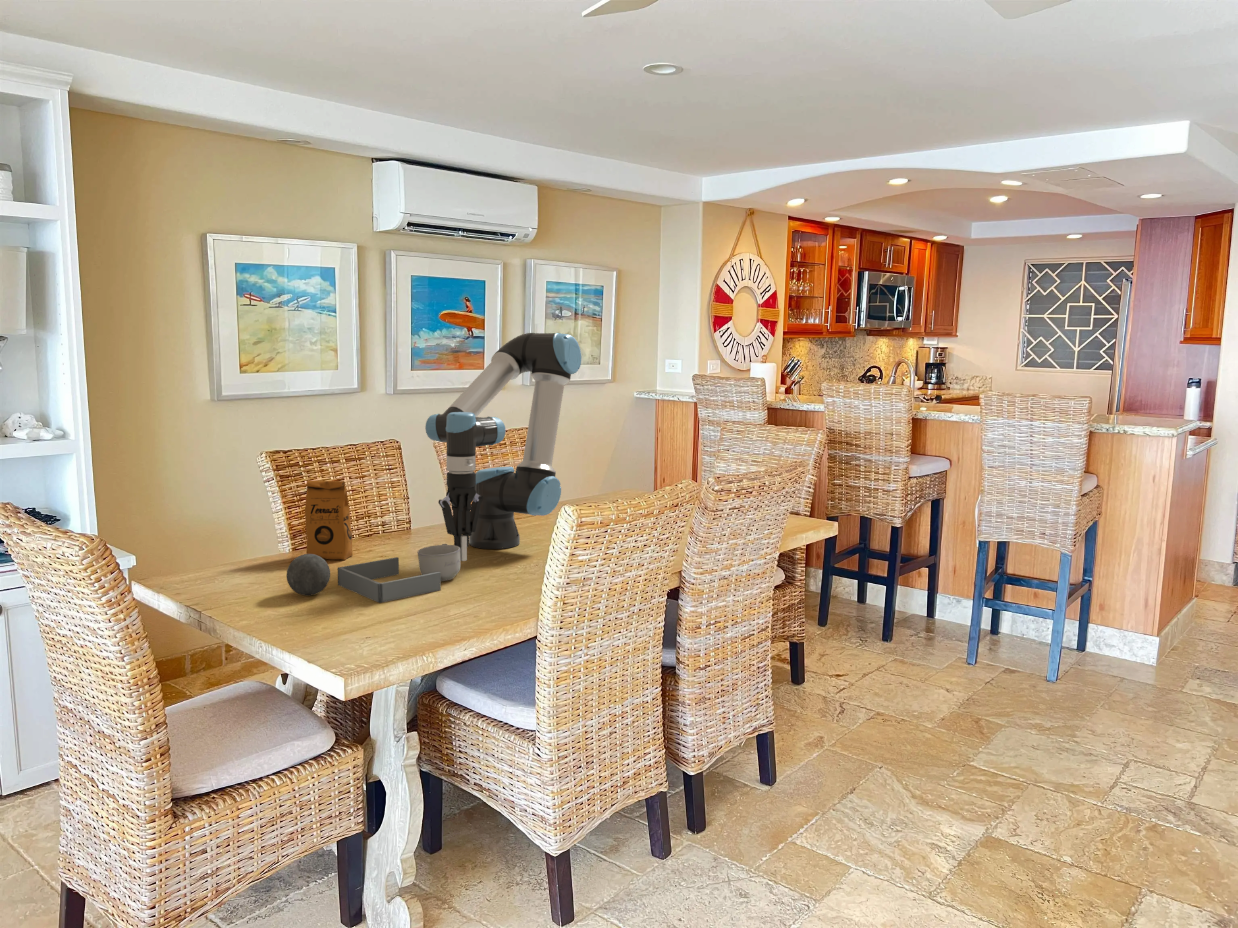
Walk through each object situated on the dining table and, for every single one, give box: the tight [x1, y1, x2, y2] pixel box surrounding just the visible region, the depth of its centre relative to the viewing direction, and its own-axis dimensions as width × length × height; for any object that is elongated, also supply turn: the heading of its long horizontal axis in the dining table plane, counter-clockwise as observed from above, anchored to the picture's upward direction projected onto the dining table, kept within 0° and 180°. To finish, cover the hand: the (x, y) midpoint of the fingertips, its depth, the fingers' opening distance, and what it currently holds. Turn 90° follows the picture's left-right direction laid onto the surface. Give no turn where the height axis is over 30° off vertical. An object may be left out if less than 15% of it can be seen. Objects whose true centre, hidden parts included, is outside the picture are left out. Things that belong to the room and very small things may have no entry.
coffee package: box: [304, 479, 354, 561], centre depth 260 cm, size 10×12×22 cm
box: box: [337, 556, 442, 604], centre depth 232 cm, size 17×21×4 cm
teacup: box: [417, 543, 461, 582], centre depth 242 cm, size 14×11×8 cm
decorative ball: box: [286, 553, 331, 597], centre depth 224 cm, size 10×10×10 cm
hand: (461, 559), depth 246 cm, fingers closed
